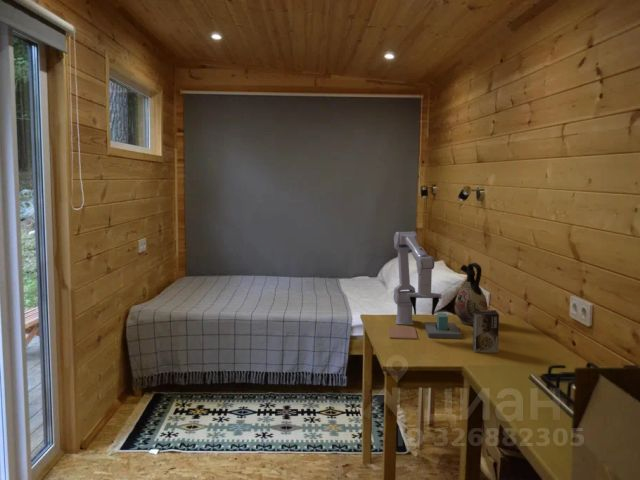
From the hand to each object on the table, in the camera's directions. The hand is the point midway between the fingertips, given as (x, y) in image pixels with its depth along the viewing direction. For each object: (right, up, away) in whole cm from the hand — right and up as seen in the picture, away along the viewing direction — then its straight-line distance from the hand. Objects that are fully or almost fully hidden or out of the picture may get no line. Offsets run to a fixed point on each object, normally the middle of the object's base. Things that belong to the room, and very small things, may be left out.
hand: (423, 314), depth 233 cm
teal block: (+10, -9, +8) cm, 16 cm away
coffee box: (+22, -13, -17) cm, 30 cm away
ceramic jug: (+27, -8, +22) cm, 36 cm away
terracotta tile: (-8, -10, +6) cm, 14 cm away
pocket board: (+10, -9, +8) cm, 16 cm away
